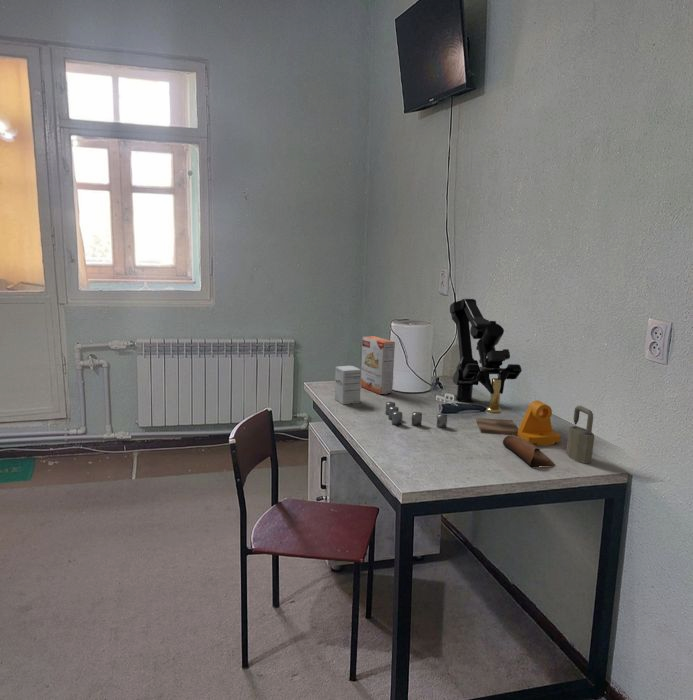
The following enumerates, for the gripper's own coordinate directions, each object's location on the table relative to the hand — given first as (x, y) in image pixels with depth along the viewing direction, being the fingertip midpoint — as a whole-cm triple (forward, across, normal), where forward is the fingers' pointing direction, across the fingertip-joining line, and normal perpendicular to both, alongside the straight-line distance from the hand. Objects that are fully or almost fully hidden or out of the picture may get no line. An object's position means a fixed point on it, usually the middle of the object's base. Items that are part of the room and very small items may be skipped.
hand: (497, 393), depth 193 cm
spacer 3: (+7, -33, +9) cm, 34 cm away
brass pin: (+4, 0, +6) cm, 7 cm away
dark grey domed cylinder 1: (-1, -33, +17) cm, 37 cm away
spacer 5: (+9, -18, +7) cm, 21 cm away
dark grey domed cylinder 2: (+3, -33, +13) cm, 35 cm away
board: (+9, 0, +6) cm, 11 cm away
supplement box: (-13, -46, +28) cm, 55 cm away
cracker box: (-24, -32, +39) cm, 56 cm away
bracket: (+19, +8, -3) cm, 21 cm away
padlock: (+29, +14, -13) cm, 35 cm away
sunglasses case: (+28, 0, -11) cm, 30 cm away
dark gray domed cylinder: (+7, -26, +8) cm, 28 cm away
